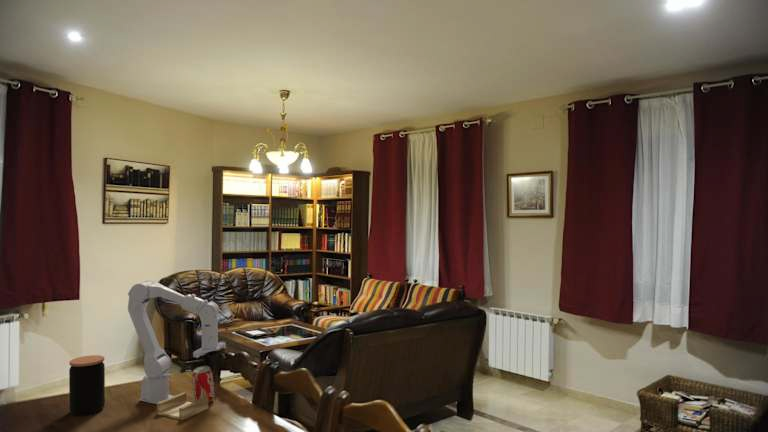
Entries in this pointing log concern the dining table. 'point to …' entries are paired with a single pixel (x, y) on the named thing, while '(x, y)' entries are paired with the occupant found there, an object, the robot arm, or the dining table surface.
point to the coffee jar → (87, 385)
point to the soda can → (203, 383)
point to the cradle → (181, 407)
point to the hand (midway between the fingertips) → (210, 371)
